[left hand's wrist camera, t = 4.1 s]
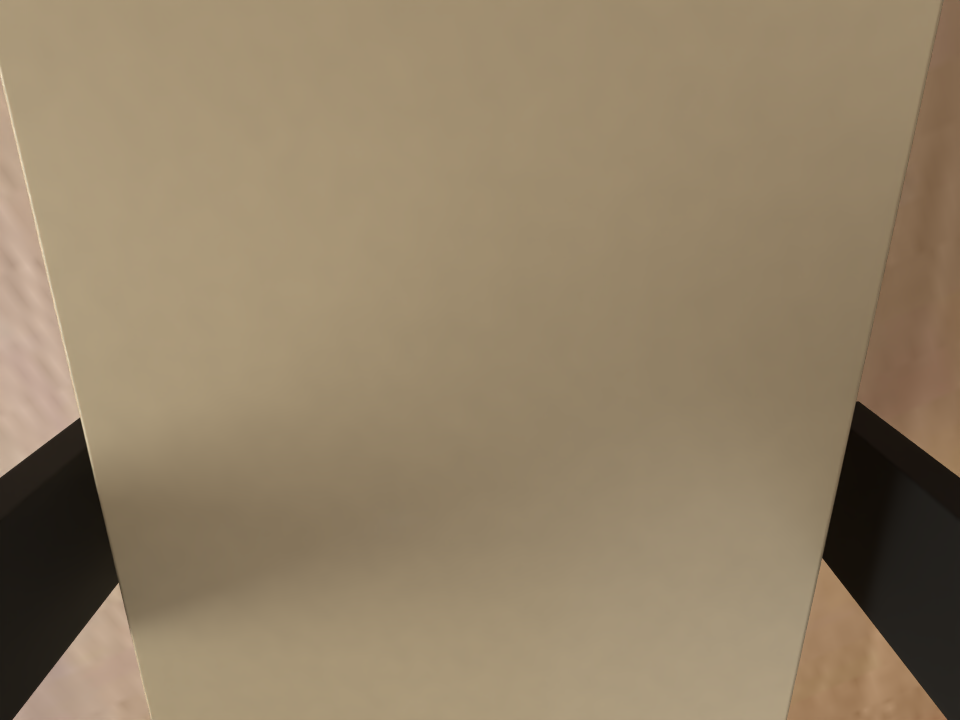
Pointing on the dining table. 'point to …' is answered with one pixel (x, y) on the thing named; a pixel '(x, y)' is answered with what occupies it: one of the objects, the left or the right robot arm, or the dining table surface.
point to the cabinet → (466, 335)
